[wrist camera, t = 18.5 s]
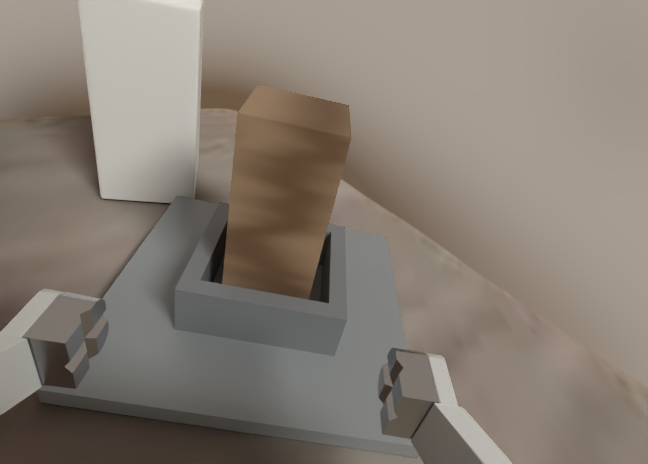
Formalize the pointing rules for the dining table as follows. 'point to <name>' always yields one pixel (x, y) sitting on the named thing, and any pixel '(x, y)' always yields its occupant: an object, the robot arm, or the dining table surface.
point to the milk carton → (144, 95)
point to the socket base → (246, 339)
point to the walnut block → (283, 189)
